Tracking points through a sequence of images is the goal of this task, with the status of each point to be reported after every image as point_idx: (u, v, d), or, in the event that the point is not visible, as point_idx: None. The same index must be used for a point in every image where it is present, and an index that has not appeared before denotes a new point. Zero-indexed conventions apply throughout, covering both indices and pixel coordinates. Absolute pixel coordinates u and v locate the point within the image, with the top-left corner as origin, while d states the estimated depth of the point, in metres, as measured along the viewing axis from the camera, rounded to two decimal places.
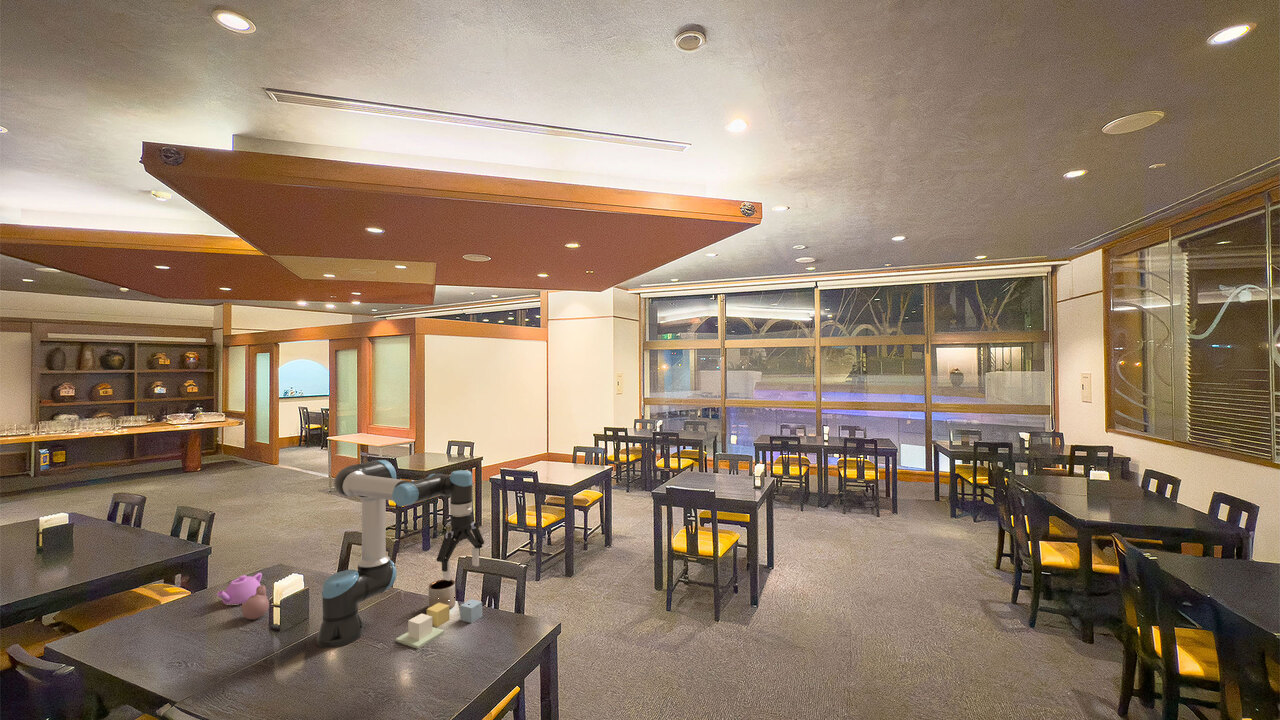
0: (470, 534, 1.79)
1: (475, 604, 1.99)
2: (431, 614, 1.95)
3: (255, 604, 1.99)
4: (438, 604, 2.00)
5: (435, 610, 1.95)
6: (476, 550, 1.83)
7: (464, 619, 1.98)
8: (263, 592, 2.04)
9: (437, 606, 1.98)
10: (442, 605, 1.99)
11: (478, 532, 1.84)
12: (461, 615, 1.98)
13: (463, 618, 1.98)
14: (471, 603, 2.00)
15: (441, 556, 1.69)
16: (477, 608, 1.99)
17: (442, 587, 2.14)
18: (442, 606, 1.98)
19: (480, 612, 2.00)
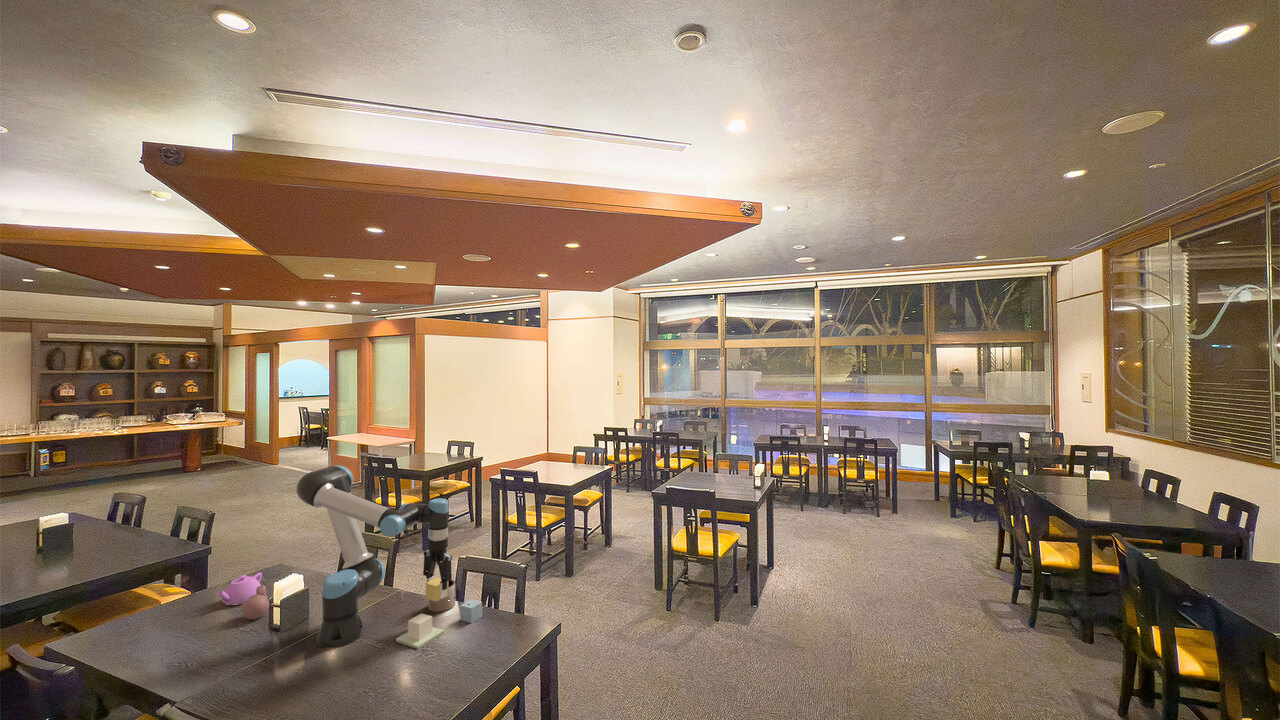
0: (437, 561, 1.95)
1: (475, 604, 1.99)
2: (430, 588, 1.95)
3: (255, 604, 1.99)
4: (437, 579, 2.00)
5: (434, 584, 1.95)
6: None
7: (464, 619, 1.98)
8: (263, 592, 2.04)
9: (436, 581, 1.98)
10: None
11: (445, 566, 1.94)
12: (461, 615, 1.98)
13: (463, 618, 1.98)
14: (471, 603, 2.00)
15: None
16: (477, 608, 1.99)
17: None
18: None
19: (480, 612, 2.00)
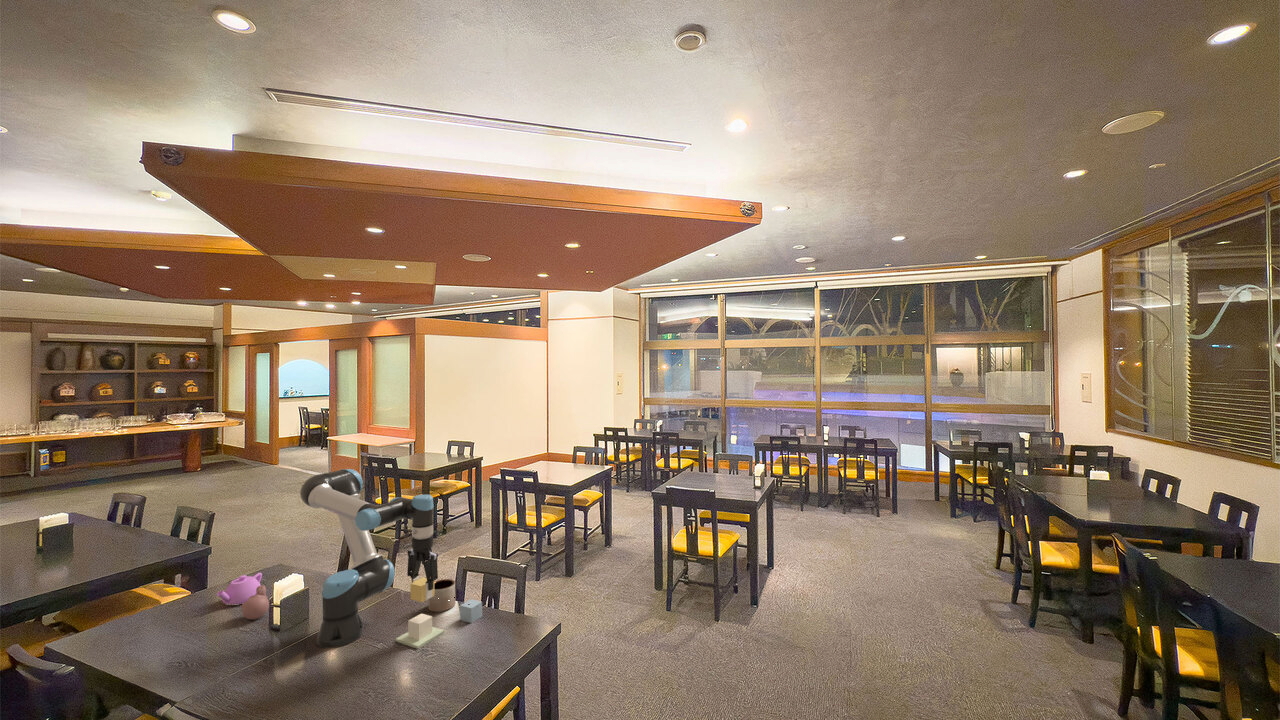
0: (422, 560, 1.86)
1: (475, 604, 1.99)
2: (415, 589, 1.85)
3: (255, 604, 1.99)
4: (422, 579, 1.90)
5: (419, 584, 1.85)
6: None
7: (464, 619, 1.98)
8: (263, 592, 2.04)
9: (421, 581, 1.88)
10: None
11: (431, 565, 1.85)
12: (461, 615, 1.98)
13: (463, 618, 1.98)
14: (471, 603, 2.00)
15: None
16: (477, 608, 1.99)
17: (442, 587, 2.14)
18: (426, 580, 1.89)
19: (480, 612, 2.00)
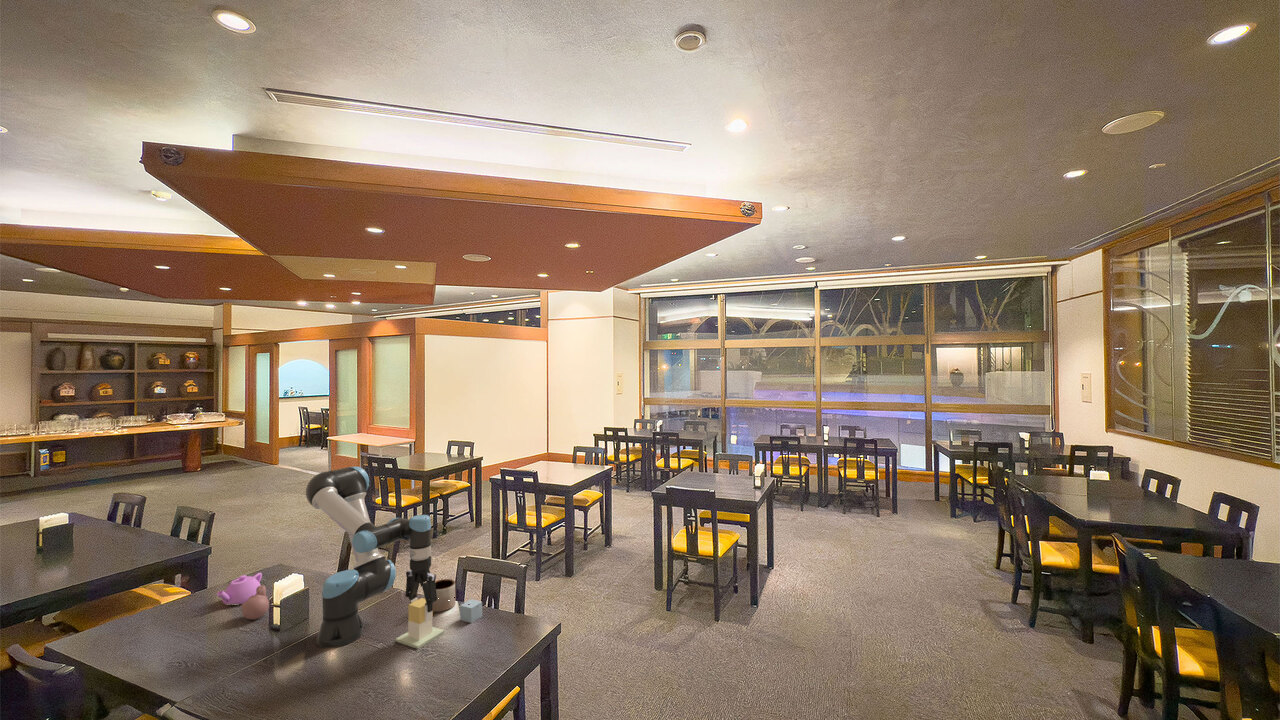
0: (420, 582, 1.84)
1: (475, 604, 1.99)
2: (413, 610, 1.84)
3: (255, 604, 1.99)
4: (421, 599, 1.89)
5: (417, 606, 1.84)
6: None
7: (464, 619, 1.98)
8: (263, 592, 2.04)
9: (420, 602, 1.86)
10: (425, 600, 1.88)
11: (429, 587, 1.83)
12: (461, 615, 1.98)
13: (463, 618, 1.98)
14: (471, 603, 2.00)
15: None
16: (477, 608, 1.99)
17: (442, 587, 2.14)
18: (424, 601, 1.87)
19: (480, 612, 2.00)
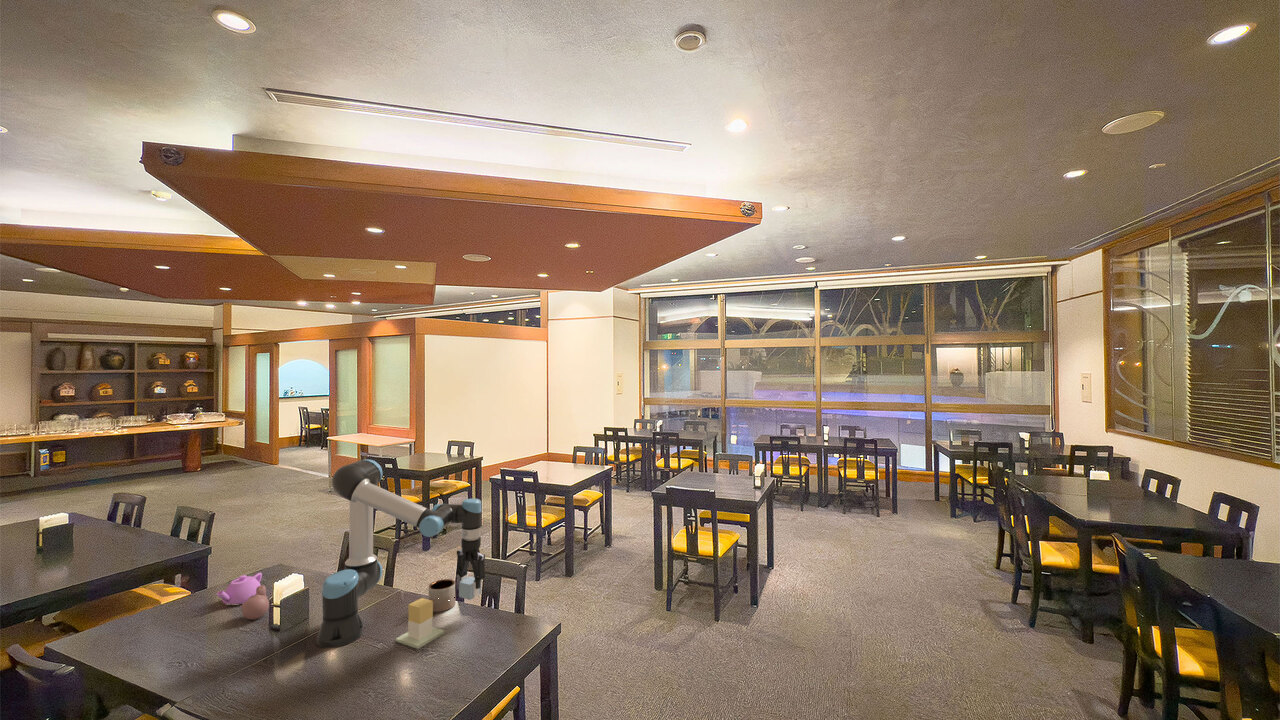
0: (471, 560, 1.98)
1: None
2: (413, 610, 1.84)
3: (255, 604, 1.99)
4: (421, 599, 1.89)
5: (417, 606, 1.84)
6: None
7: (463, 596, 1.98)
8: (263, 592, 2.04)
9: (420, 602, 1.86)
10: (425, 600, 1.88)
11: (478, 566, 1.97)
12: (460, 592, 1.98)
13: (462, 595, 1.98)
14: (470, 580, 2.00)
15: None
16: None
17: (442, 587, 2.14)
18: (424, 601, 1.87)
19: (479, 589, 2.01)
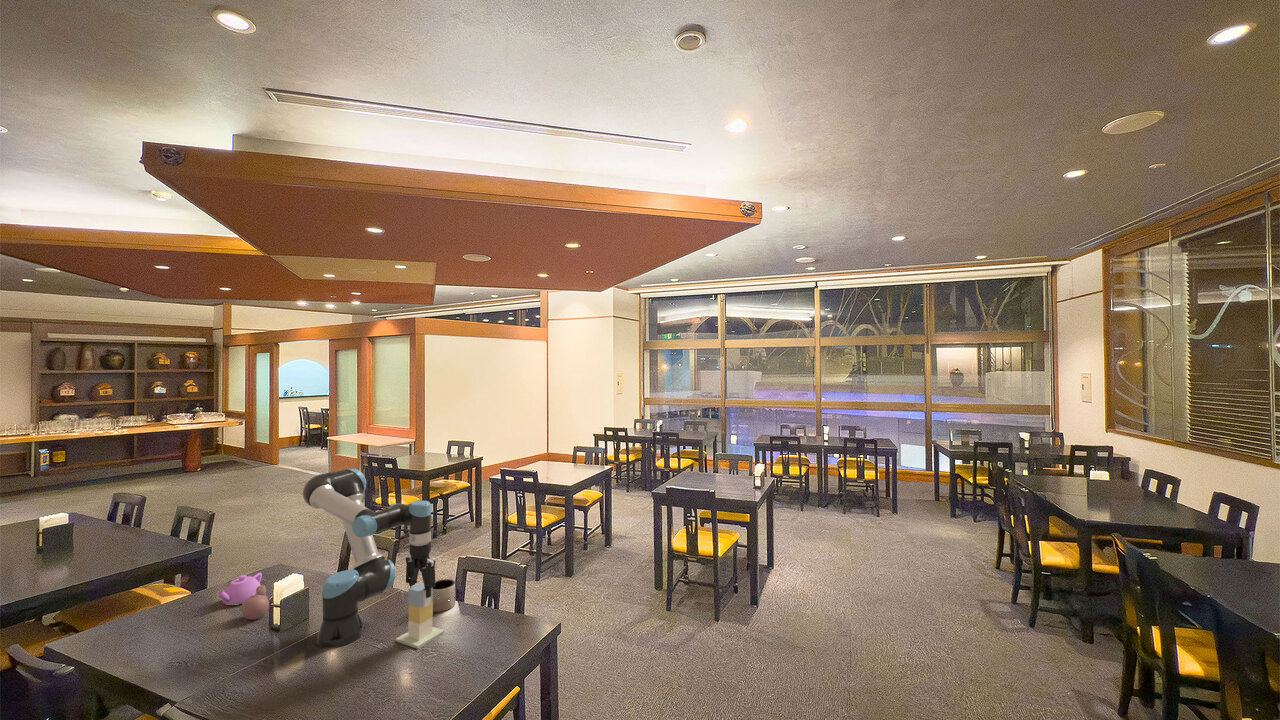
0: (420, 567, 1.84)
1: (424, 587, 1.85)
2: (413, 610, 1.84)
3: (255, 604, 1.99)
4: None
5: None
6: None
7: (412, 603, 1.84)
8: (263, 592, 2.04)
9: None
10: None
11: (428, 573, 1.83)
12: (409, 599, 1.84)
13: (411, 602, 1.84)
14: (420, 586, 1.86)
15: None
16: None
17: (442, 587, 2.14)
18: None
19: None
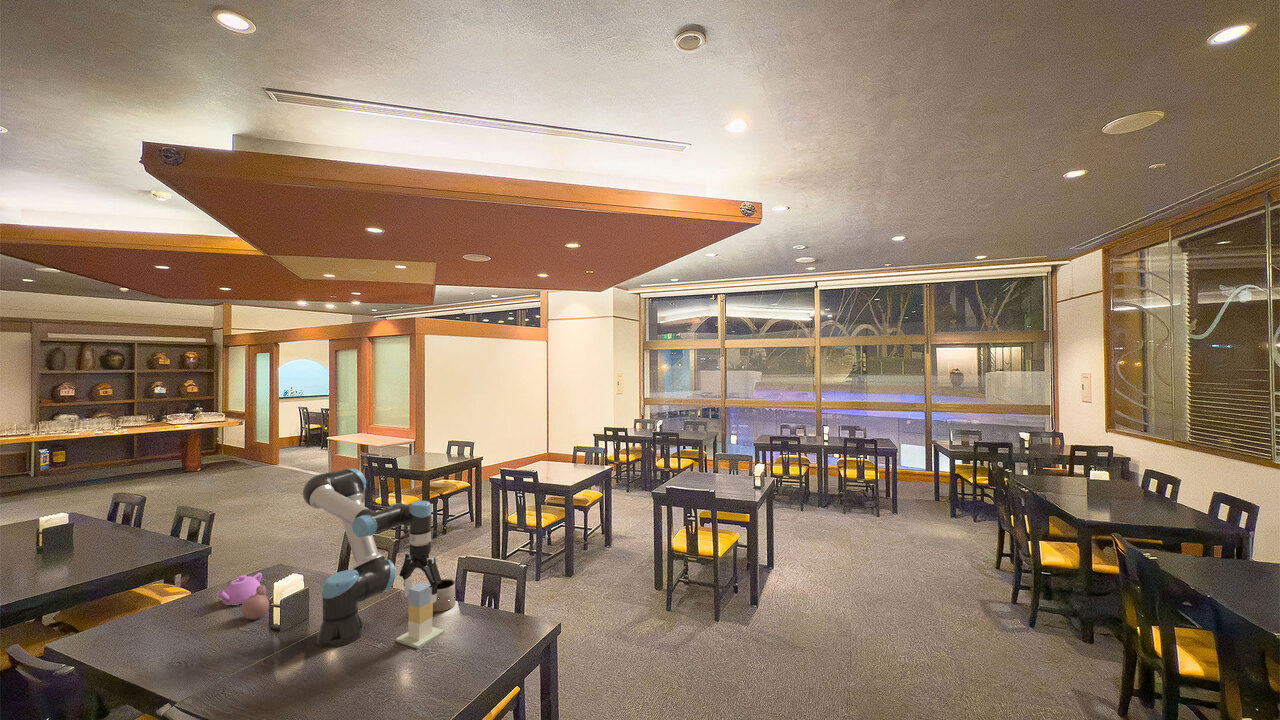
0: (421, 567, 1.84)
1: (424, 587, 1.85)
2: (413, 610, 1.84)
3: (255, 604, 1.99)
4: None
5: None
6: None
7: (412, 603, 1.84)
8: (263, 592, 2.04)
9: None
10: None
11: (430, 570, 1.82)
12: (409, 599, 1.84)
13: (411, 602, 1.84)
14: (420, 586, 1.86)
15: None
16: (426, 592, 1.85)
17: (442, 587, 2.14)
18: None
19: None
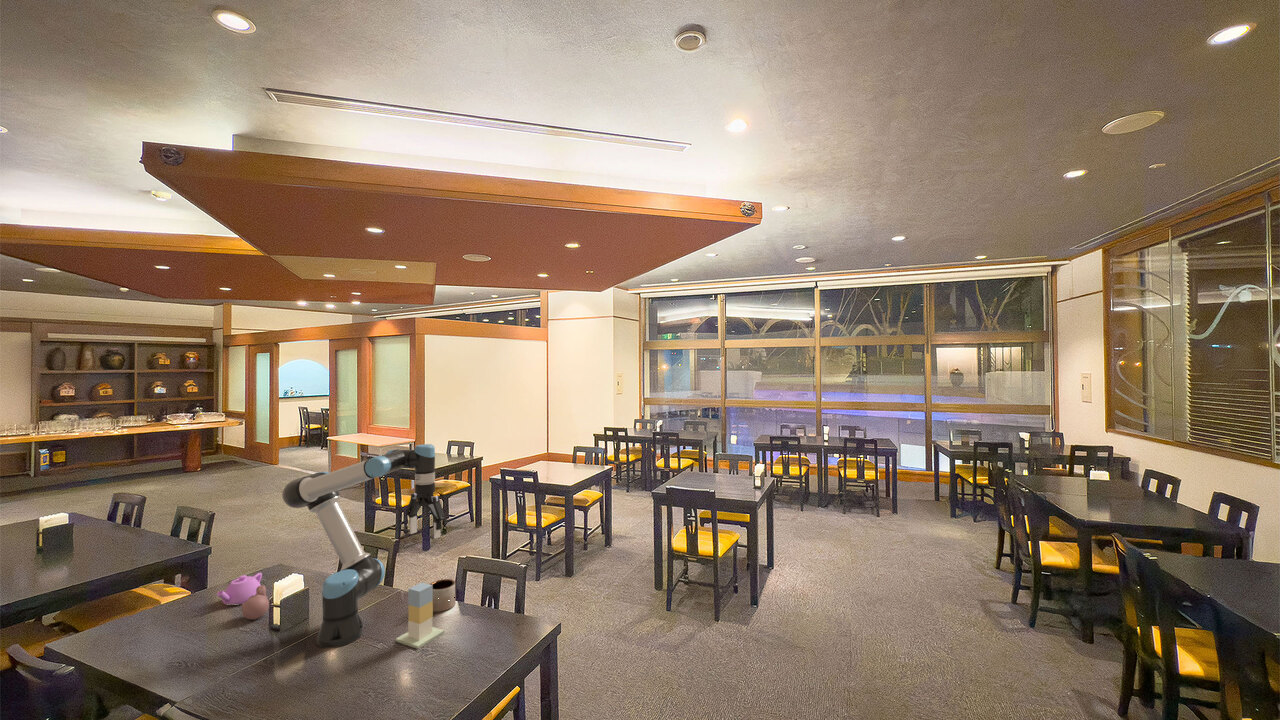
0: (426, 504, 1.96)
1: (424, 587, 1.85)
2: (413, 610, 1.84)
3: (255, 604, 1.99)
4: None
5: None
6: None
7: (412, 603, 1.84)
8: (263, 592, 2.04)
9: None
10: None
11: (435, 507, 1.94)
12: (409, 599, 1.84)
13: (411, 602, 1.84)
14: (420, 586, 1.86)
15: None
16: (426, 592, 1.85)
17: (442, 587, 2.14)
18: None
19: (430, 596, 1.87)
